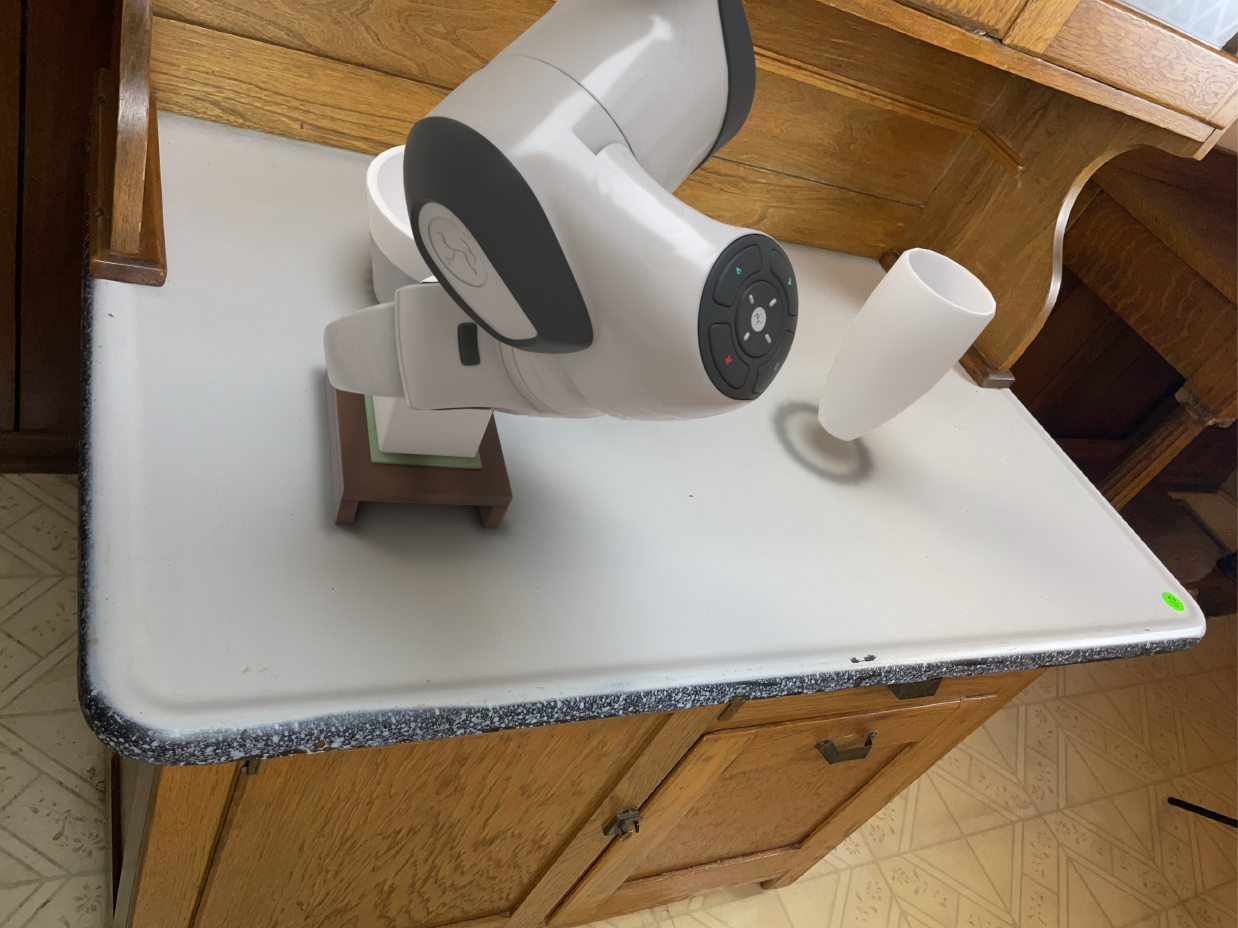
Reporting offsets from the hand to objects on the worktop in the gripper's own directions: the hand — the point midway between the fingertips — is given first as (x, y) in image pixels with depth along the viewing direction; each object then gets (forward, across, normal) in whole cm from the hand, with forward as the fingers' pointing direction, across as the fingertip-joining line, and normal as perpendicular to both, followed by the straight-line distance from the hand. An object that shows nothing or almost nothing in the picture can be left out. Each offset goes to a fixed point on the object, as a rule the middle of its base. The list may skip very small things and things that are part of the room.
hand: (443, 350), depth 59 cm
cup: (+4, -44, +12) cm, 46 cm away
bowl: (+21, -11, -5) cm, 25 cm away
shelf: (+8, 0, +8) cm, 11 cm away
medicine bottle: (+5, 0, +5) cm, 7 cm away
